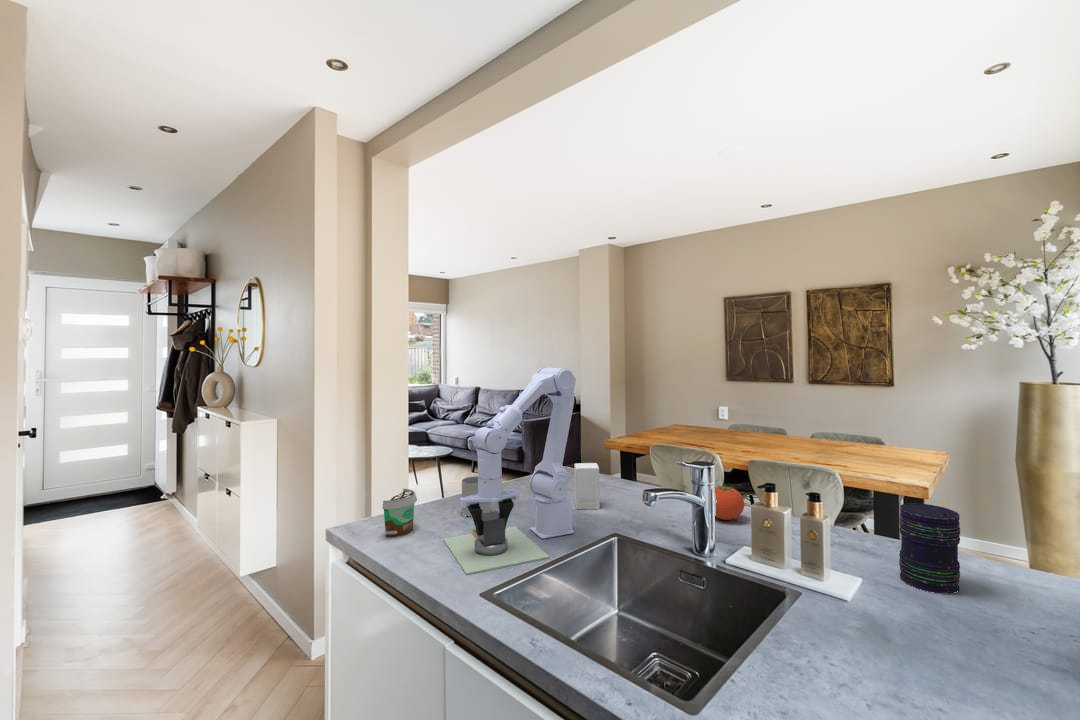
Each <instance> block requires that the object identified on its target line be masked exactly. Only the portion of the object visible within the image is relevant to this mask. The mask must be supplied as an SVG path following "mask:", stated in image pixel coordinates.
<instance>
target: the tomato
mask: <svg viewBox="0 0 1080 720" xmlns="http://www.w3.org/2000/svg"><path fill="white" fill-rule="evenodd" d="M714 488H715V493H716V500H717V503H716V517H715V518H717V519H720V520H723V521H729V520H733V519H734V520H735V519H736V518H738V517H740V515H742V513H743V511H744V509H745V500H744V497H743V496H742V494H741V493H740V492H739V491H738V490H737V489H736V488H735V487H729V486H728V485H726V483H724V484H723V486H721V485H718V486H714Z"/></svg>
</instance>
